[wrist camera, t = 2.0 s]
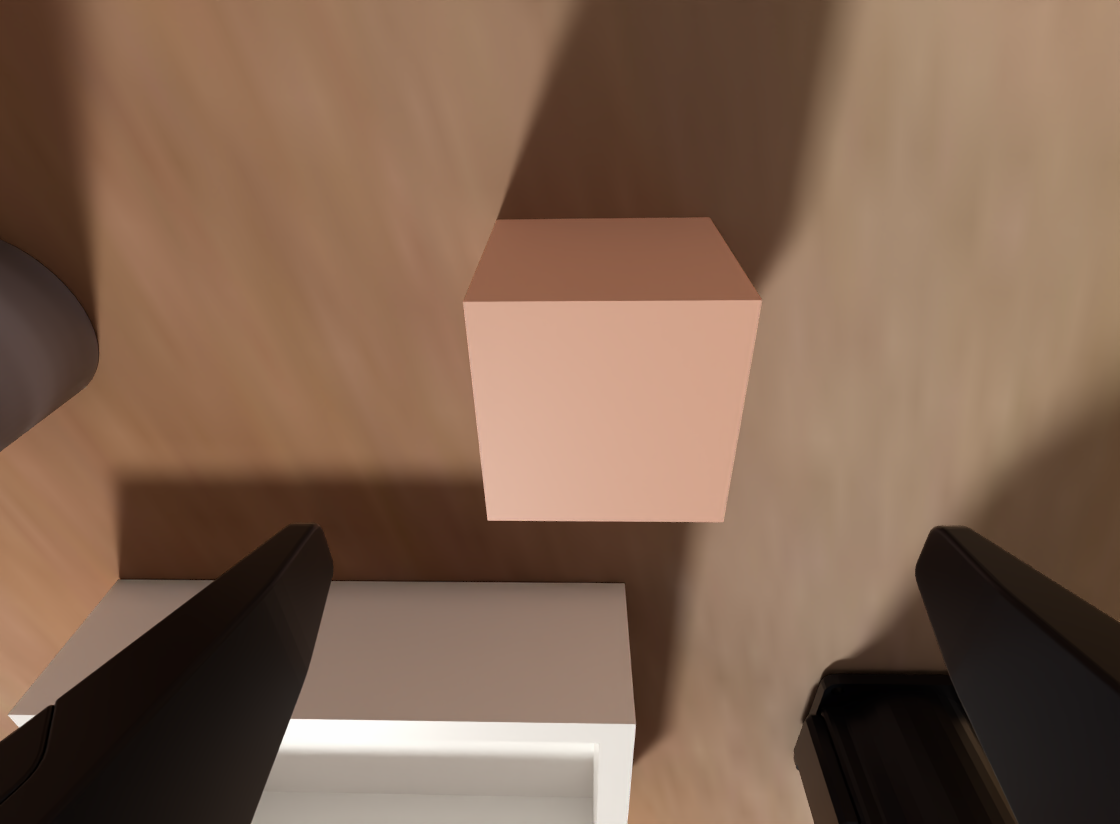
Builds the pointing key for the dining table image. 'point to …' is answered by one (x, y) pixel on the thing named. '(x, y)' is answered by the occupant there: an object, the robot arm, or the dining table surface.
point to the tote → (427, 701)
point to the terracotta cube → (609, 368)
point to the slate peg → (39, 344)
